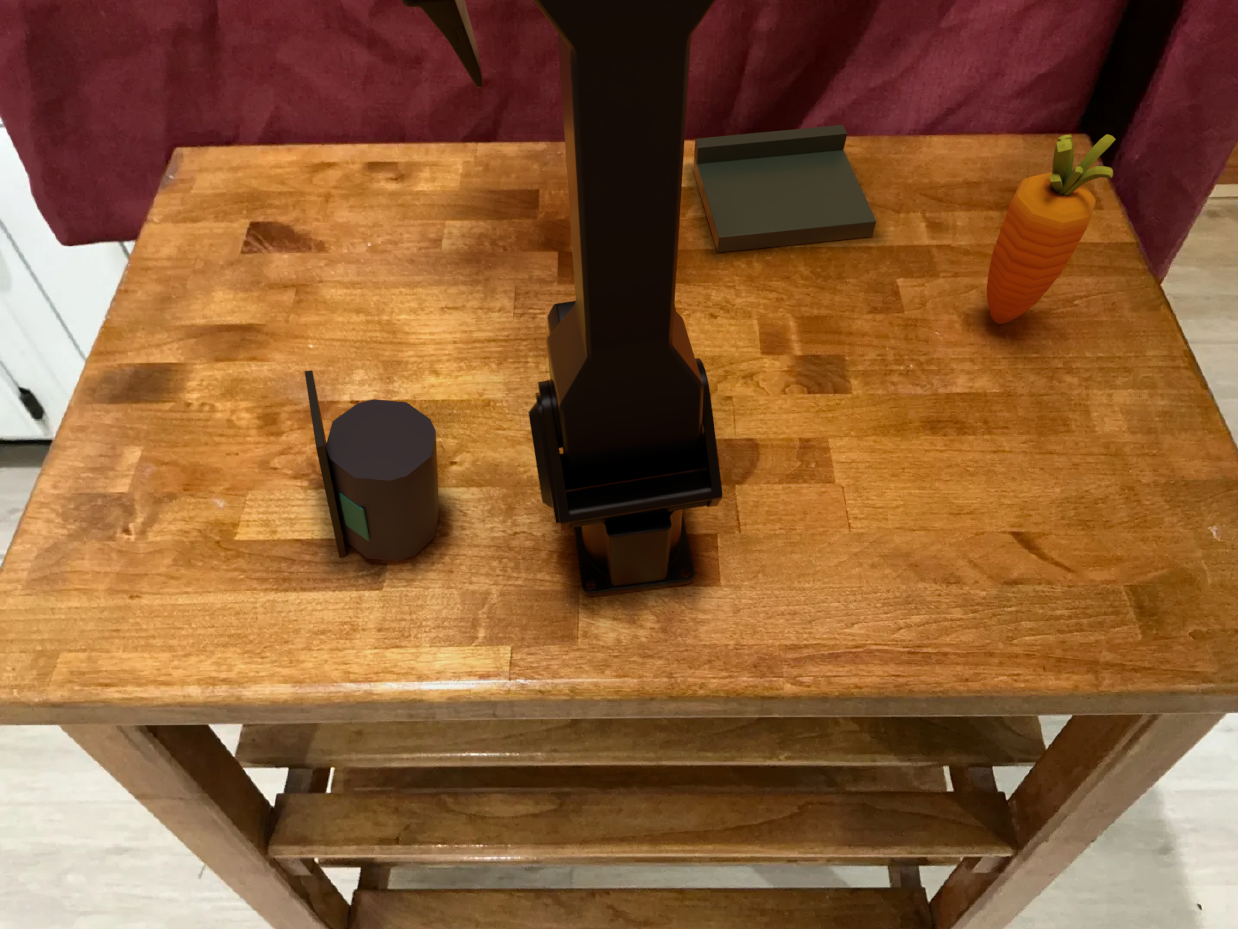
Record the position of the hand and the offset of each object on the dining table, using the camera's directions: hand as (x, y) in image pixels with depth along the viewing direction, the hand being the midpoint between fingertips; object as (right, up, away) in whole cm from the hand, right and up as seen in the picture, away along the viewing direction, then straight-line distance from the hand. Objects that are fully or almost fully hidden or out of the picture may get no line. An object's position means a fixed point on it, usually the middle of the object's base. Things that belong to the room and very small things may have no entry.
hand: (553, 77), depth 57 cm
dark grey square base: (+17, -4, +14) cm, 22 cm away
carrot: (+31, -14, +7) cm, 35 cm away
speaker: (-10, -28, -2) cm, 29 cm away
